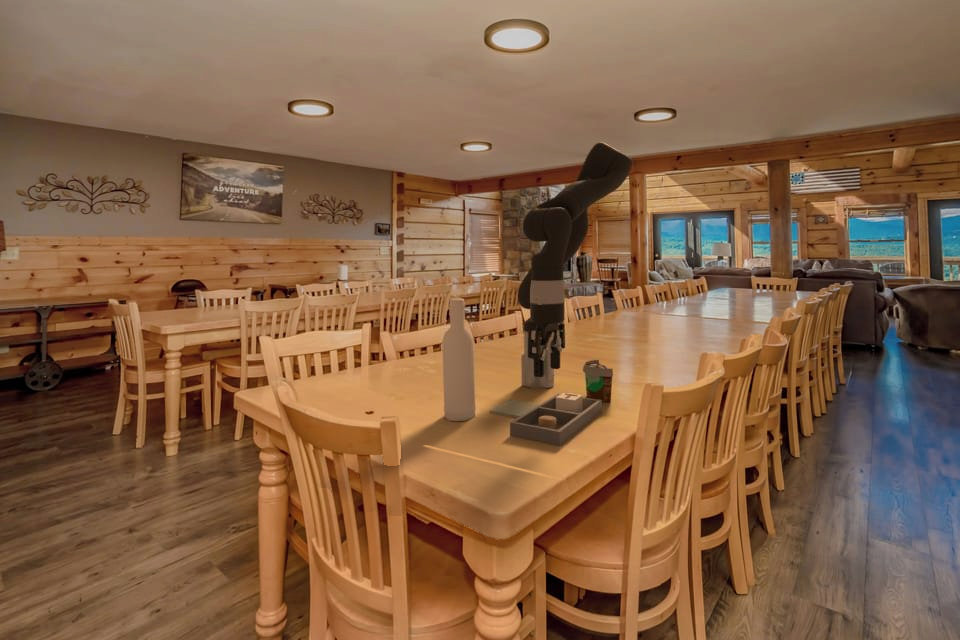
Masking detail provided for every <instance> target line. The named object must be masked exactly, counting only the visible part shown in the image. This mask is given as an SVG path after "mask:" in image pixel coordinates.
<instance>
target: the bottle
mask: <svg viewBox="0 0 960 640" xmlns="http://www.w3.org/2000/svg"><path fill="white" fill-rule="evenodd" d="M448 303H449V304H448V306H449V318H450V319H449V325H450V326H449V328H448V329H447V330H446V331H445V332H444V334H443V337H442V342H441V344H442V374H443V377H442V379H443V380H442V381H443V403H444V404H443V412H444V419H445V420H447V421H449V420H450V422H455V421H457V422H458V421H463V422H467V421H470V420H472V419H474V418H476V393H475V391H476V389H475V388H476V387H475V386H476V384H475V348H474V345H475V343H474V342H475V341H474V337H473V334H472V332H471V331H470V330H469V329H468V328H467V327H466V319H465V316H466V315H465V309H466V308H465V307H466V303H465V299H464V298H461V297H459V298H456V297H455V298H450V299H449V302H448Z"/></svg>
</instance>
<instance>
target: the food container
mask: <svg viewBox="0 0 960 640" xmlns="http://www.w3.org/2000/svg"><path fill="white" fill-rule="evenodd" d="M582 372H583V373H584V375H585V388H586V389H585V391H586V398H590V399H597V400H602V403H608V404H609V403H612V389H613V388H612V384H613V377H614V371H613V368H607V367H606V366H605V365H603V364H601V363H600V360H599V359H593V360H588V361H585V363H584V364H583V367H582Z"/></svg>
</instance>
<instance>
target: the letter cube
mask: <svg viewBox="0 0 960 640" xmlns="http://www.w3.org/2000/svg"><path fill="white" fill-rule="evenodd" d="M560 394H561V395H559V396H557V397H556V410H562V411H568V412H574V413H582V409H583V398H584V395H583V394H578V393H577V394H576V393H569V392H562V393H560Z"/></svg>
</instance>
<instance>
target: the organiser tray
mask: <svg viewBox="0 0 960 640" xmlns="http://www.w3.org/2000/svg"><path fill="white" fill-rule="evenodd" d="M561 394H562V393H557V394H555V395H554V396H552V397H550V398H549V399H547V400H546V401H544V402H541V403H539V404H540V405H538V406H537V407H535V408H533V409H532V410H530V411H528V412H526V413H525V414H523V415H521V416H520V417H518V418H515V419H513V420H511V421H509V436H510V437H514V438H519V439H524V440H527V441H533V442H538V443H543V444H547V445H551V446H552V445H553V446H556V447H561V446H562V445H563V444H565V443H566V442H567V441H568V440H569V439H571V438H572V437H573V436H574V435H576V434H577V433H578V432H580V431H581V430H582V429H583V428H584V427H585V426H587V425H588V424H589V423H591V422H592V421H593V420H594V419H595V418H597V416H599V415H600V414H601V413H603V412H602V410H603V409H602V408H603V404H602V403H603V402H602V400H597V399H590V398H587V397H583V409H582V413H574V412H568V411H562V410H556V397H557V396H559V395H561ZM541 416H553V417H555V418H556V430H555V429H549V428H544V427H539V417H541Z"/></svg>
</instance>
